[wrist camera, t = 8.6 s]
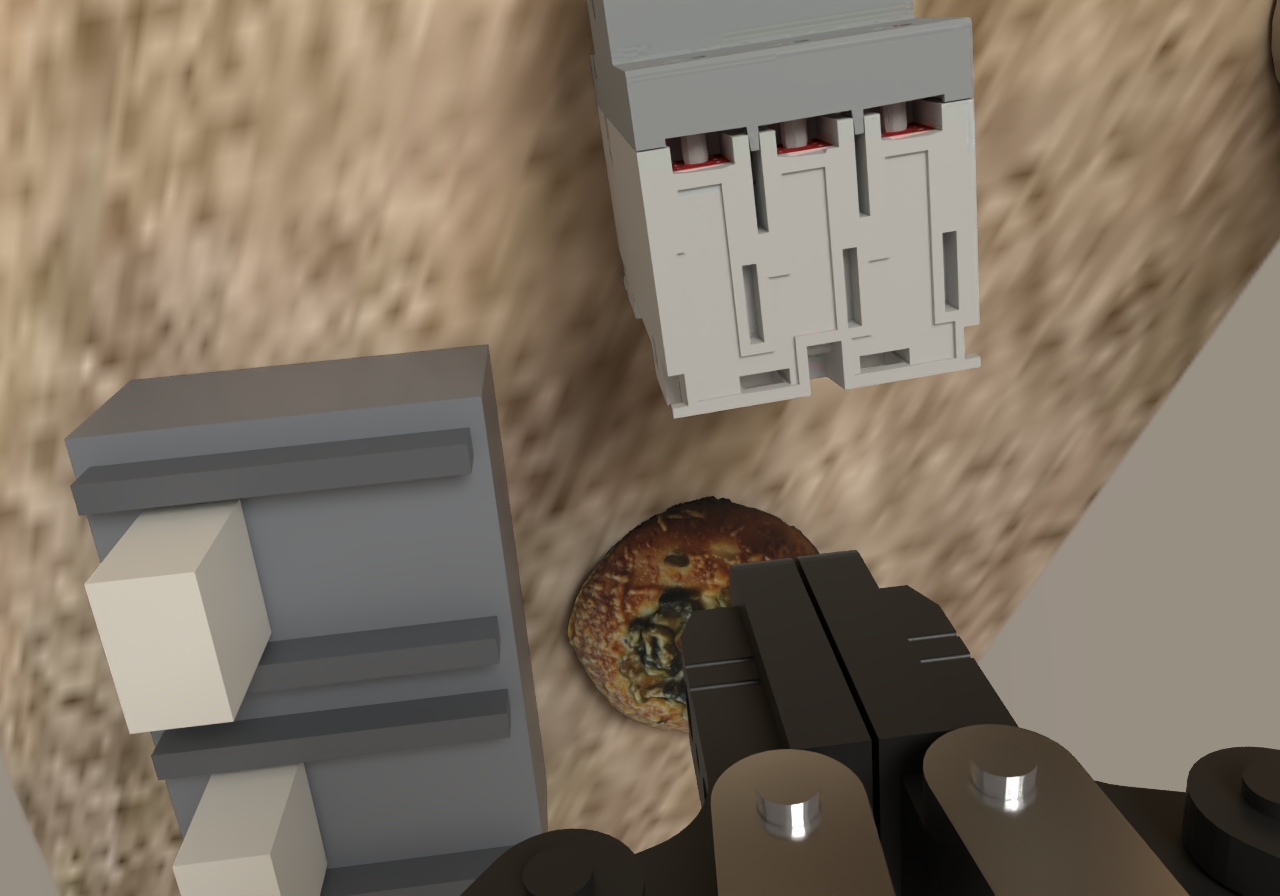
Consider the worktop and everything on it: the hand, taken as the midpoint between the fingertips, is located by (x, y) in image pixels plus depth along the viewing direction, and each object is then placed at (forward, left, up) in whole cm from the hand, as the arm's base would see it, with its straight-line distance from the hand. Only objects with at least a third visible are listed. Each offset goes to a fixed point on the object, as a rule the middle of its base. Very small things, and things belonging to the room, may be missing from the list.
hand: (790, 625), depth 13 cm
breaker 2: (+15, +19, -22) cm, 33 cm away
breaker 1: (+15, +9, -22) cm, 28 cm away
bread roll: (-2, +17, -29) cm, 33 cm away
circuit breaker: (-3, -5, -28) cm, 29 cm away
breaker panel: (+12, +14, -28) cm, 33 cm away
